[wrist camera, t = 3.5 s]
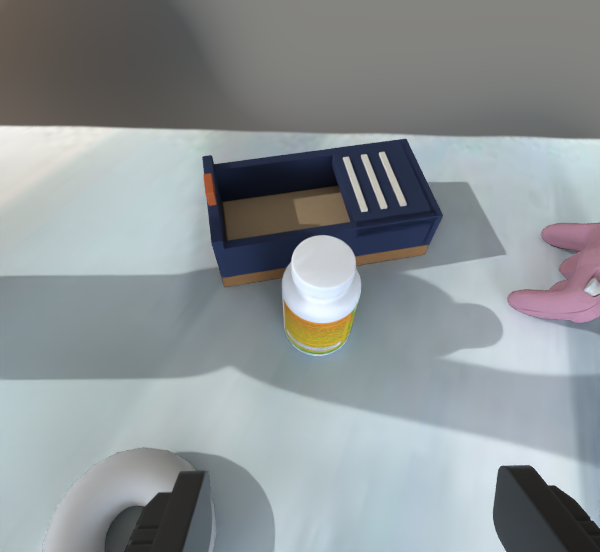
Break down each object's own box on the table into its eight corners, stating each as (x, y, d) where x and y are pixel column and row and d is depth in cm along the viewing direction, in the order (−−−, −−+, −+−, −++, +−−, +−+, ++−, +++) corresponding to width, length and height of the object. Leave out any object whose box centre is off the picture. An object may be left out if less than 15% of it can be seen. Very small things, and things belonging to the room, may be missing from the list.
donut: (251, 552, 26) (172, 420, 30) (246, 557, 23) (158, 409, 27) (99, 688, 23) (32, 520, 26) (70, 714, 20) (0, 520, 23)
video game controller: (534, 338, 35) (624, 328, 29) (498, 301, 34) (581, 283, 28) (570, 259, 39) (655, 234, 33) (539, 225, 38) (619, 194, 32)
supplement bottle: (355, 354, 32) (376, 294, 24) (287, 361, 32) (284, 304, 24) (344, 293, 35) (359, 222, 27) (281, 299, 35) (276, 229, 27)
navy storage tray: (224, 287, 35) (207, 231, 29) (215, 207, 40) (198, 142, 33) (424, 254, 37) (453, 194, 31) (393, 182, 42) (412, 115, 35)
